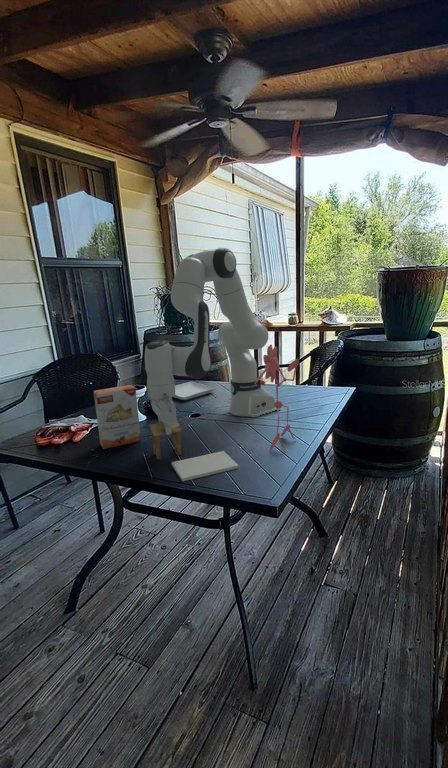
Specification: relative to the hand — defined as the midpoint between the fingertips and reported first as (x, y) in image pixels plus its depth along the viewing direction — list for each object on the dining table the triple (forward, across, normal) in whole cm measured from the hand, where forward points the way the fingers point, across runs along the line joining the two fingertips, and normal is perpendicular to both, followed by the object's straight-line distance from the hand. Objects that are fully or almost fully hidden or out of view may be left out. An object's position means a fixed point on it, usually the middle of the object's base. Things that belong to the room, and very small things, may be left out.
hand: (165, 430), depth 135 cm
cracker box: (+9, +18, +13) cm, 24 cm away
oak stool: (+9, 0, 0) cm, 9 cm away
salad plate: (+9, +67, -28) cm, 73 cm away
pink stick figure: (+9, -9, -35) cm, 38 cm away
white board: (+9, -15, -8) cm, 19 cm away
